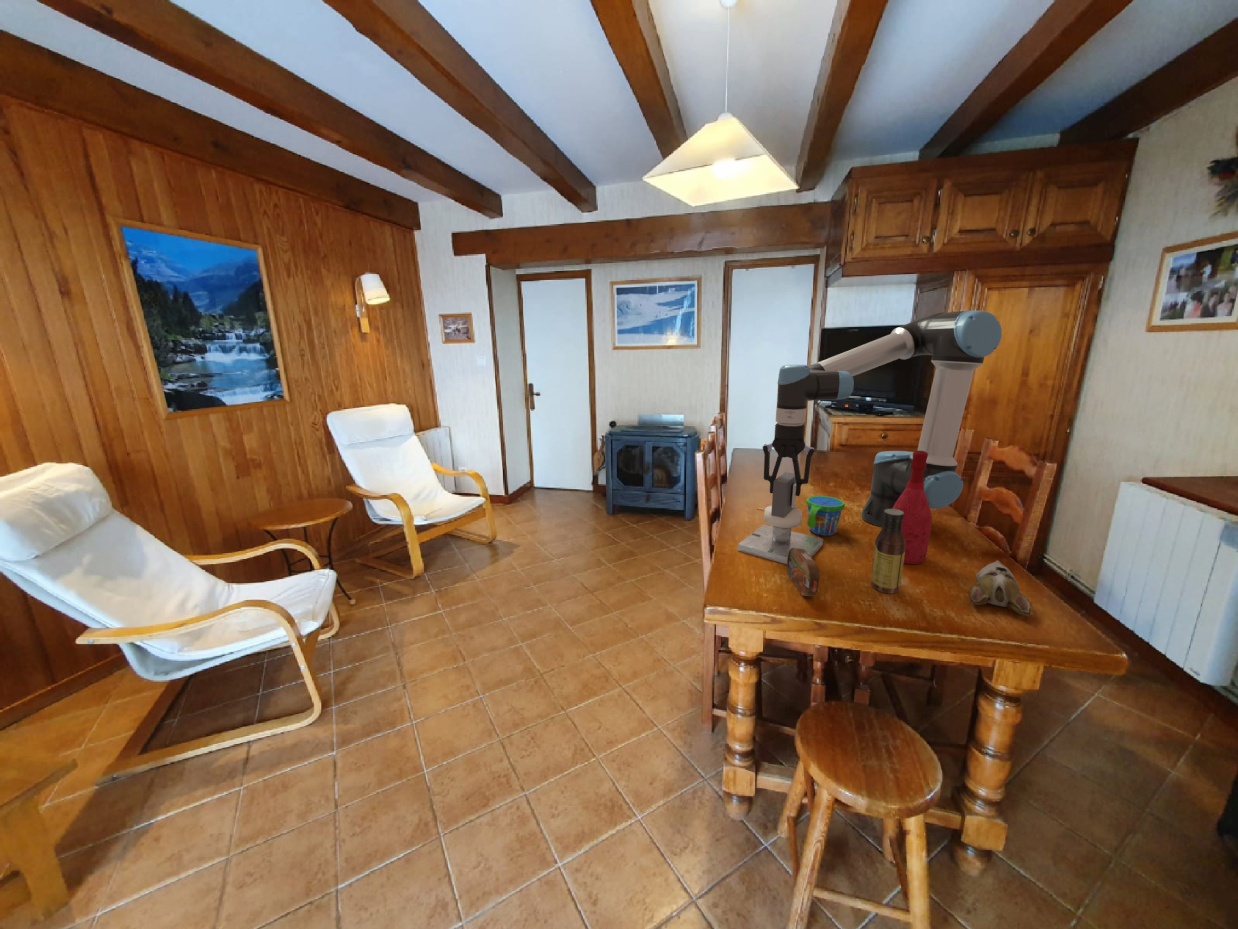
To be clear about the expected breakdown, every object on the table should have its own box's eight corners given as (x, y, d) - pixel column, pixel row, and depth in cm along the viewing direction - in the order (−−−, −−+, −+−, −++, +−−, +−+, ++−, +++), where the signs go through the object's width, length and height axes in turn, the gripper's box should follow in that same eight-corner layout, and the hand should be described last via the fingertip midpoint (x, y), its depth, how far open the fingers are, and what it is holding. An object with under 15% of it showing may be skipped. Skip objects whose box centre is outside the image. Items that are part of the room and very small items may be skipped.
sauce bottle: (883, 579, 116) (894, 504, 111) (906, 592, 110) (918, 513, 105) (863, 584, 114) (873, 508, 109) (884, 597, 108) (896, 517, 103)
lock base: (822, 545, 136) (825, 519, 134) (801, 568, 122) (804, 540, 120) (763, 530, 147) (764, 506, 145) (737, 550, 133) (739, 524, 131)
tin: (785, 571, 121) (787, 541, 119) (797, 571, 121) (800, 541, 119) (805, 603, 107) (809, 570, 104) (819, 603, 106) (823, 570, 104)
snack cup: (822, 520, 153) (825, 491, 151) (852, 531, 145) (856, 500, 142) (791, 532, 145) (794, 501, 142) (822, 543, 137) (825, 511, 134)
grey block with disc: (805, 519, 133) (809, 475, 130) (795, 530, 126) (799, 484, 122) (762, 510, 141) (765, 469, 137) (750, 521, 133) (753, 477, 129)
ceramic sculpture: (1028, 559, 106) (1039, 592, 95) (1021, 592, 109) (1030, 628, 97) (970, 549, 112) (974, 579, 100) (964, 580, 115) (967, 613, 103)
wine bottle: (890, 546, 134) (904, 445, 126) (930, 557, 127) (948, 450, 119) (878, 558, 127) (893, 451, 119) (920, 569, 120) (938, 457, 113)
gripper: (754, 424, 125) (750, 505, 131) (824, 427, 118) (816, 513, 124) (758, 419, 132) (754, 497, 138) (825, 422, 125) (817, 504, 131)
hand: (783, 505), depth 131 cm, fingers closed on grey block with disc, 4 cm apart
